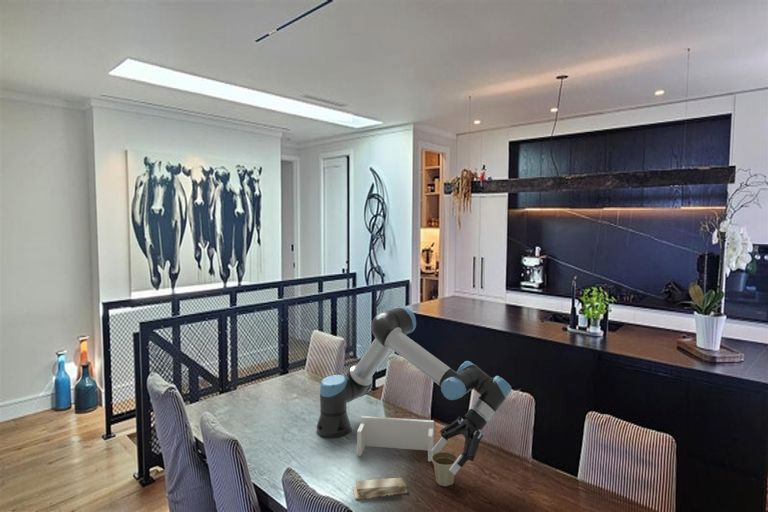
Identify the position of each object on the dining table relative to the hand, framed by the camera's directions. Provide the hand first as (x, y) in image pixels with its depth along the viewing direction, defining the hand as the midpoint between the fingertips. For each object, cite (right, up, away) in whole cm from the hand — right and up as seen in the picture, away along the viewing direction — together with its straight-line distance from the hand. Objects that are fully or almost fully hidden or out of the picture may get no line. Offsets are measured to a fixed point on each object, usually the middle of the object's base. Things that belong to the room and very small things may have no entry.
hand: (442, 462), depth 158 cm
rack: (-16, -6, +22) cm, 28 cm away
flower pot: (+1, -8, +1) cm, 8 cm away
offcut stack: (-22, -8, -4) cm, 24 cm away
